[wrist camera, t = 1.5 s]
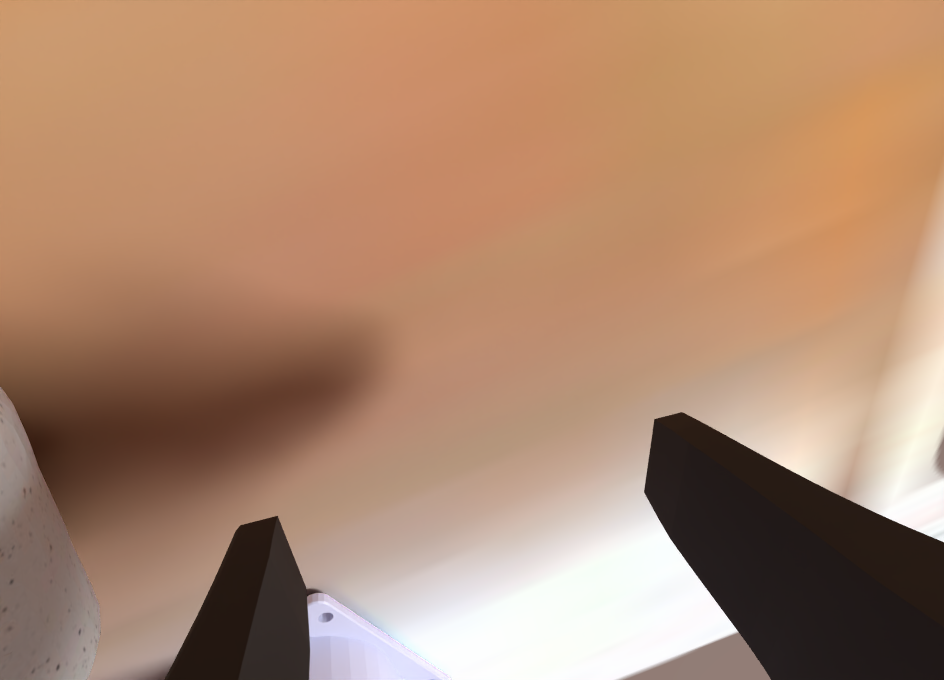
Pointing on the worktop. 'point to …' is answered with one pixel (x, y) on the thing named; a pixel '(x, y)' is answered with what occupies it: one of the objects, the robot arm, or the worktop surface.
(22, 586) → the ceramic mug
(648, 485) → the robot arm
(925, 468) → the worktop surface
